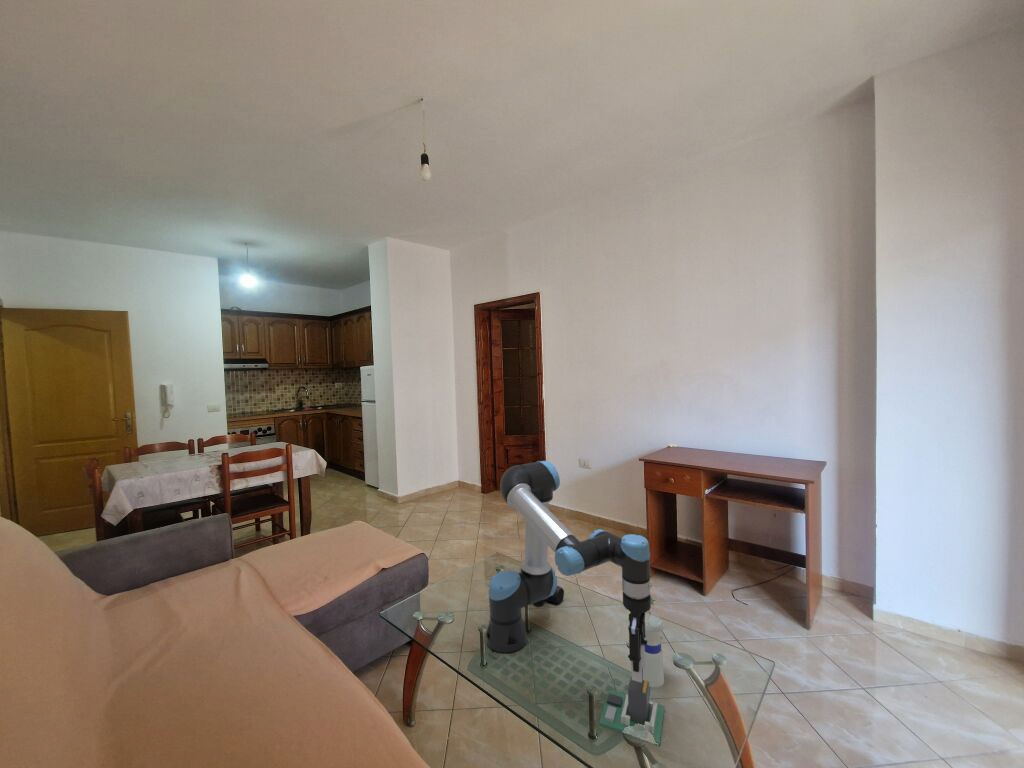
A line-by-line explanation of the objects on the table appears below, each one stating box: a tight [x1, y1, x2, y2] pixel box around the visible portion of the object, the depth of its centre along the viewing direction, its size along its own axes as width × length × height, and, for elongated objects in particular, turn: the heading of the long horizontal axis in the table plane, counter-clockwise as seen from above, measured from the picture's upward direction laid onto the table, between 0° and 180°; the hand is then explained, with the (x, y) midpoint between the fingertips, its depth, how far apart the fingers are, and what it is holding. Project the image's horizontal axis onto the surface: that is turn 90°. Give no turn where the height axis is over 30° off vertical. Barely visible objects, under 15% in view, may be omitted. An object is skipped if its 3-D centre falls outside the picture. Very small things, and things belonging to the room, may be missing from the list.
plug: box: [627, 676, 650, 725], centre depth 118 cm, size 5×5×9 cm
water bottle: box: [642, 596, 665, 688], centre depth 133 cm, size 8×9×25 cm
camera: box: [532, 585, 565, 607], centre depth 180 cm, size 16×10×10 cm, turn 142°
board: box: [598, 689, 665, 745], centre depth 119 cm, size 16×13×3 cm
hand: (638, 673), depth 117 cm, fingers open, 5 cm apart
